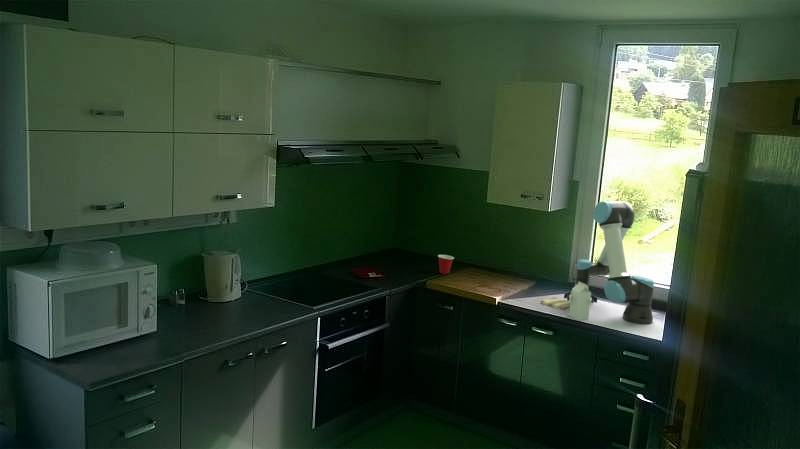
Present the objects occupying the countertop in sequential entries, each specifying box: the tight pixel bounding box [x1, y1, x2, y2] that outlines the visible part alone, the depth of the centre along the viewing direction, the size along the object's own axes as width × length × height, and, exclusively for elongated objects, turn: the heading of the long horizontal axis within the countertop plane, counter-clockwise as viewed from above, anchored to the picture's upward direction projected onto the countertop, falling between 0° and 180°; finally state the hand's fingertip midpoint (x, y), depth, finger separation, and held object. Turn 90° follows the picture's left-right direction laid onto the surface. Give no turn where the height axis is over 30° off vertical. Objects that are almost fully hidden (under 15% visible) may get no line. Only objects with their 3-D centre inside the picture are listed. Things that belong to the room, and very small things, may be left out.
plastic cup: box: [437, 254, 455, 275], centre depth 412 cm, size 11×11×12 cm
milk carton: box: [568, 282, 592, 321], centre depth 333 cm, size 7×7×19 cm
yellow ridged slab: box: [540, 296, 570, 311], centre depth 357 cm, size 15×14×2 cm
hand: (580, 301), depth 329 cm, fingers closed on milk carton, 10 cm apart
